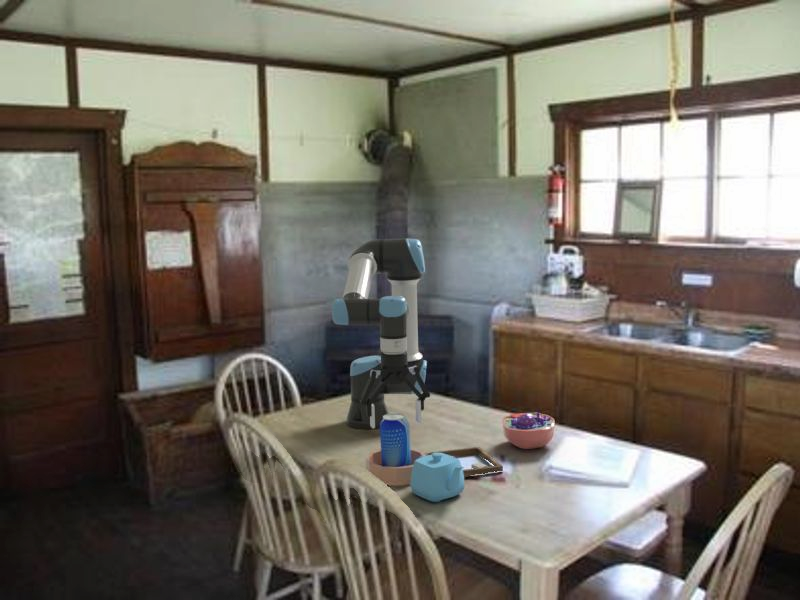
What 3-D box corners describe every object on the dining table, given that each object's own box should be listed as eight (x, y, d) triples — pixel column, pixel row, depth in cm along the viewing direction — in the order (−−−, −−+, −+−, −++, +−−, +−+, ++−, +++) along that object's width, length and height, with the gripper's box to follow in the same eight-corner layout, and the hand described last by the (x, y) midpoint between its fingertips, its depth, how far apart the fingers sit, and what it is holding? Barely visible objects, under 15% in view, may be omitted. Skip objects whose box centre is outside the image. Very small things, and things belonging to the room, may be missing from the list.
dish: (359, 467, 226) (358, 451, 225) (417, 460, 231) (417, 444, 230) (374, 489, 209) (373, 472, 208) (436, 481, 214) (436, 464, 213)
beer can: (415, 466, 222) (413, 413, 220) (405, 476, 215) (403, 421, 213) (388, 464, 225) (385, 411, 223) (377, 474, 218) (375, 419, 216)
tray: (423, 459, 232) (423, 453, 231) (479, 452, 236) (479, 446, 236) (443, 480, 214) (443, 473, 214) (502, 472, 219) (502, 466, 219)
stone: (471, 471, 221) (471, 464, 221) (478, 469, 223) (478, 462, 223) (479, 475, 218) (479, 467, 218) (487, 473, 220) (487, 465, 220)
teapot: (445, 513, 193) (445, 470, 191) (401, 492, 207) (400, 451, 205) (481, 500, 200) (481, 458, 199) (436, 481, 214) (436, 441, 213)
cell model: (562, 439, 247) (562, 405, 246) (546, 459, 229) (547, 423, 228) (511, 433, 254) (511, 400, 253) (492, 452, 237) (492, 417, 235)
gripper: (353, 358, 208) (355, 433, 211) (440, 350, 215) (441, 423, 218) (347, 352, 215) (350, 424, 219) (431, 345, 222) (433, 415, 225)
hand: (395, 424), depth 218 cm, fingers open, 13 cm apart
